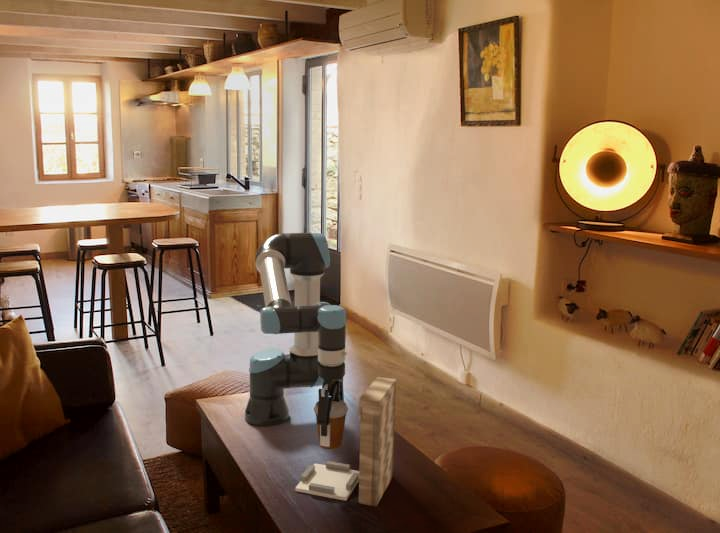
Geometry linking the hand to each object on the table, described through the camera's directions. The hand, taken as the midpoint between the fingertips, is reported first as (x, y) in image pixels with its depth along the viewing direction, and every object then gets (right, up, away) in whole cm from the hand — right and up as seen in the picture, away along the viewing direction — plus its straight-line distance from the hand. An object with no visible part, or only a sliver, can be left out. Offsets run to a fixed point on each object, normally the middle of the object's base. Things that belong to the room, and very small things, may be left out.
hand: (330, 438), depth 193 cm
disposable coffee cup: (0, -2, 0) cm, 2 cm away
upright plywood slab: (+13, -14, 0) cm, 19 cm away
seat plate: (0, -13, +3) cm, 14 cm away
